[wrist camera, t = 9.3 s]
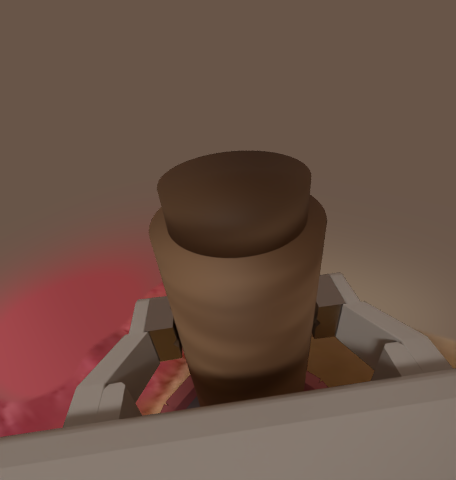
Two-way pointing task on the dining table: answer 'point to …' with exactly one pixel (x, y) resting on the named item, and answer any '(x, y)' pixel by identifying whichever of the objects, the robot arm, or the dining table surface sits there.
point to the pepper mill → (241, 270)
